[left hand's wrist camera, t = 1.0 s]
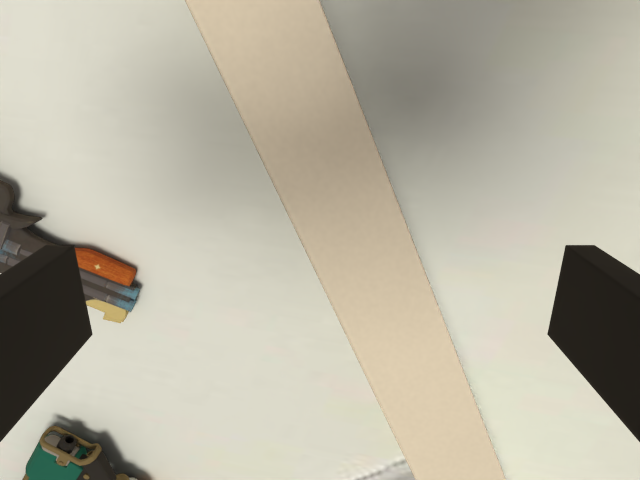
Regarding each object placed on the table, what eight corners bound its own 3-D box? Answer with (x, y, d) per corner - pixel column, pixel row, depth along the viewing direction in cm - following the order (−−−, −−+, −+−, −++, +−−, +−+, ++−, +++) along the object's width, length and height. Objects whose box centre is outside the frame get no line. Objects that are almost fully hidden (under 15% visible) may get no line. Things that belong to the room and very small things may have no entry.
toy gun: (-137, 74, 27) (-176, 223, 29) (173, 212, 31) (119, 333, 33) (-101, 77, 29) (-140, 213, 31) (180, 204, 34) (130, 316, 36)
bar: (156, -122, 25) (89, -197, 18) (246, -172, 25) (213, -272, 17) (491, 604, 47) (522, 701, 40) (545, 590, 46) (586, 687, 39)
